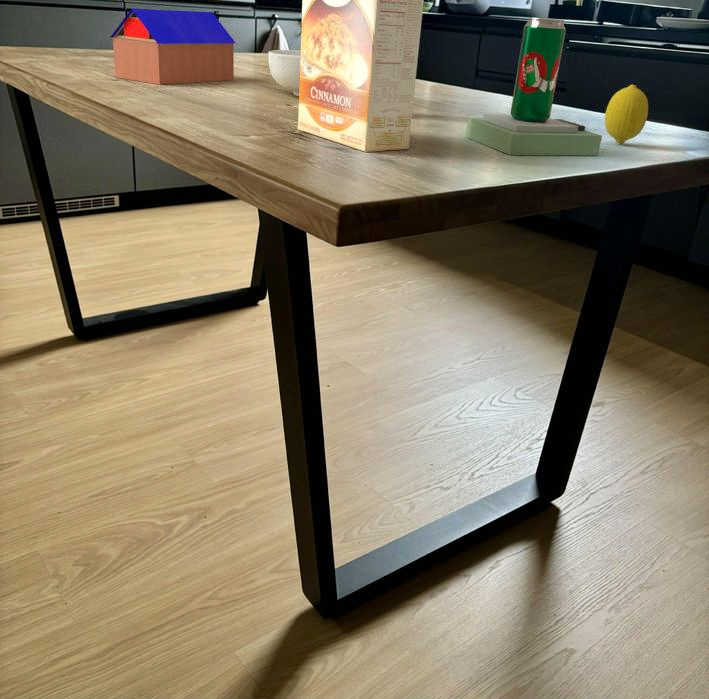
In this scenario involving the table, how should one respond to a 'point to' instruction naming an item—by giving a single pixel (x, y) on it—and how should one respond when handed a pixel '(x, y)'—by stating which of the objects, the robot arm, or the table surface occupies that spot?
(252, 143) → the table surface
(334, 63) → the coffeecake box
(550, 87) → the soda can
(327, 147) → the table surface
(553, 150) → the scale
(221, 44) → the house
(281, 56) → the cereal bowl
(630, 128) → the lemon
